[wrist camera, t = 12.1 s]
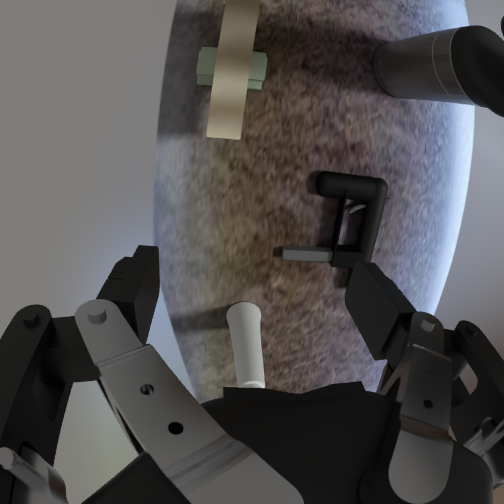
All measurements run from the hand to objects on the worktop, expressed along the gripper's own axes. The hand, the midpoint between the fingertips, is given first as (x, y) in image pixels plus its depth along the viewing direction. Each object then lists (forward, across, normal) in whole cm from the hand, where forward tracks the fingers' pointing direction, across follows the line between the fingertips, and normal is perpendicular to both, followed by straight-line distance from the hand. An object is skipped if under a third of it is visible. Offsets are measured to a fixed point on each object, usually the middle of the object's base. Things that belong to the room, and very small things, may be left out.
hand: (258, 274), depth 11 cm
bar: (+26, +2, -12) cm, 28 cm away
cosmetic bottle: (+30, -4, +27) cm, 41 cm away
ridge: (+30, +2, -12) cm, 32 cm away
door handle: (+31, -17, +10) cm, 36 cm away
